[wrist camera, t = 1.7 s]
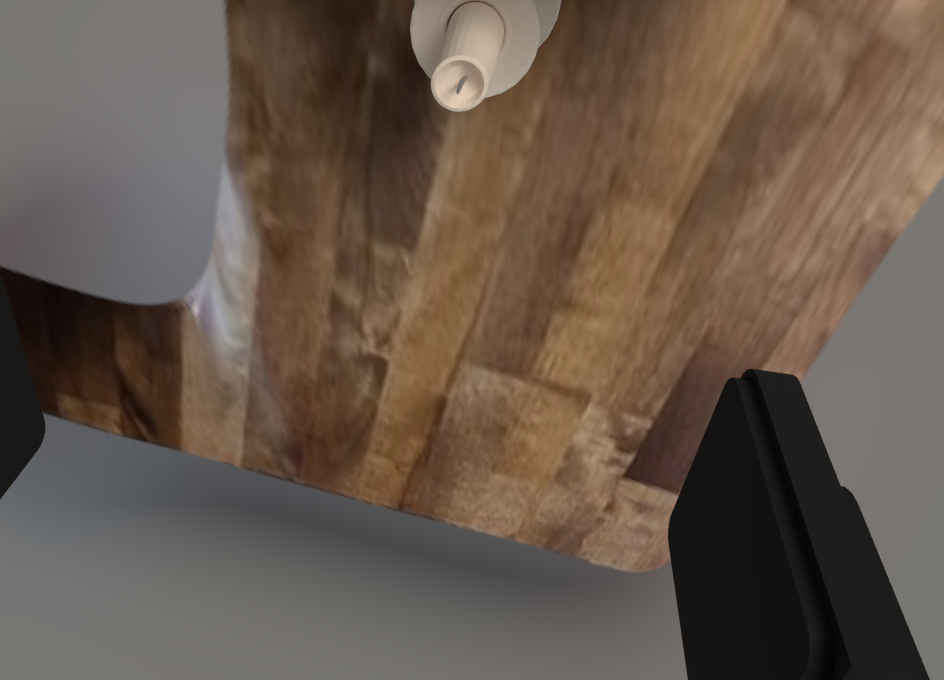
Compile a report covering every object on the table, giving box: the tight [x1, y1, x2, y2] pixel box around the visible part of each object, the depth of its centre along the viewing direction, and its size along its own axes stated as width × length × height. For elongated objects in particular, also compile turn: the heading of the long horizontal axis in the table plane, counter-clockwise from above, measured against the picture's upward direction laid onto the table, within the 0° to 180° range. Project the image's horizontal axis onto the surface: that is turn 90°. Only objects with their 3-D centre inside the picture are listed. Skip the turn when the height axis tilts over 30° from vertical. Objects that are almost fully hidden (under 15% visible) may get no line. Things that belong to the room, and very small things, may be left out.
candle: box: [410, 0, 562, 112], centre depth 23 cm, size 5×5×10 cm
